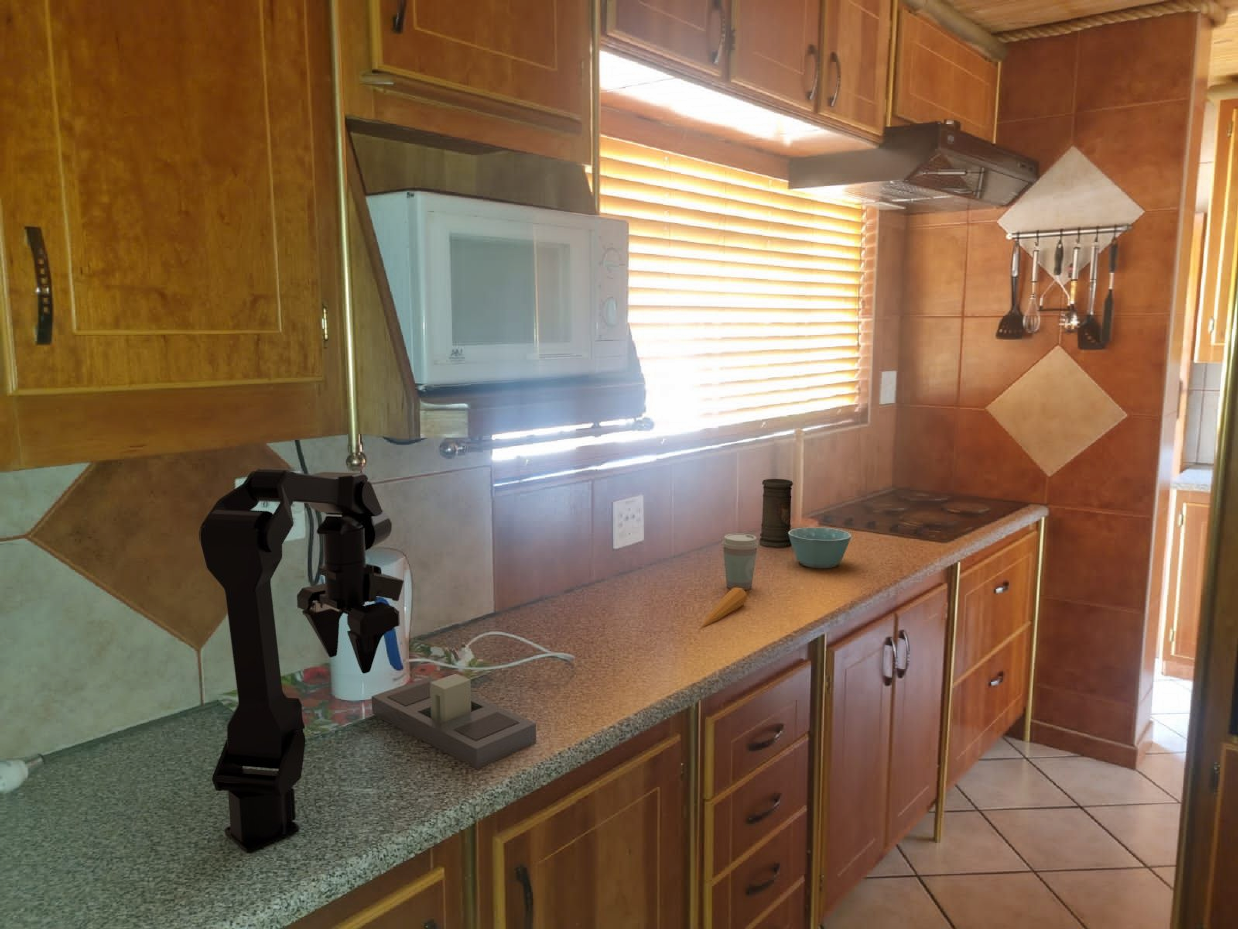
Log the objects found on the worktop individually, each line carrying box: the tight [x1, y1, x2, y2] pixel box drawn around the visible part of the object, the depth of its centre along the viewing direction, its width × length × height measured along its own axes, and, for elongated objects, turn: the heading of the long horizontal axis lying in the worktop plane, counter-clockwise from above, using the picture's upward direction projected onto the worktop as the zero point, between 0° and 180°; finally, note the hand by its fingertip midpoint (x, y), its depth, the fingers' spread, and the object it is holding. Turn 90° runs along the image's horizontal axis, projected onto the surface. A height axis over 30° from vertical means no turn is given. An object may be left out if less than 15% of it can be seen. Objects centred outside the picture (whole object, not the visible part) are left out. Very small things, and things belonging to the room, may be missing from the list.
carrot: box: [700, 587, 748, 629], centre depth 190 cm, size 20×4×4 cm, turn 148°
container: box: [758, 478, 794, 548], centre depth 252 cm, size 9×9×18 cm
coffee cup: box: [721, 533, 760, 591], centre depth 211 cm, size 8×8×12 cm
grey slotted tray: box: [371, 676, 537, 770], centre depth 137 cm, size 11×26×3 cm, turn 48°
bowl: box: [788, 526, 852, 569], centre depth 232 cm, size 16×16×8 cm
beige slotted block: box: [430, 673, 472, 724], centre depth 136 cm, size 5×4×8 cm
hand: (349, 664), depth 131 cm, fingers open, 9 cm apart
